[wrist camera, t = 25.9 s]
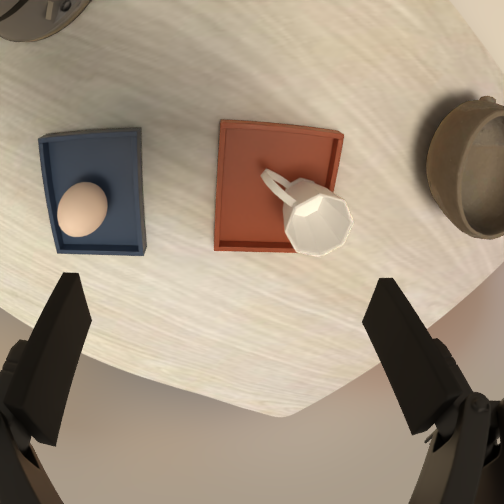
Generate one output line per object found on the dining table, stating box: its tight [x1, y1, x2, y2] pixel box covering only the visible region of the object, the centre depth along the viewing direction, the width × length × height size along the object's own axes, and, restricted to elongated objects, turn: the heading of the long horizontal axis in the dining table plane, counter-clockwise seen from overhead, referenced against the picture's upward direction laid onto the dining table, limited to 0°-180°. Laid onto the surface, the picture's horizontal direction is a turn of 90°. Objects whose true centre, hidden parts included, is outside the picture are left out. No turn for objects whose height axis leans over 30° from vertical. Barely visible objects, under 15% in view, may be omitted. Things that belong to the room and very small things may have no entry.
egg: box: [57, 182, 108, 237], centre depth 31 cm, size 6×6×8 cm
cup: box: [261, 169, 354, 257], centre depth 33 cm, size 7×10×8 cm
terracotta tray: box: [214, 119, 344, 253], centre depth 36 cm, size 15×13×2 cm
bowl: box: [426, 96, 504, 239], centre depth 32 cm, size 17×18×10 cm
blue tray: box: [38, 128, 147, 256], centre depth 34 cm, size 15×12×2 cm
